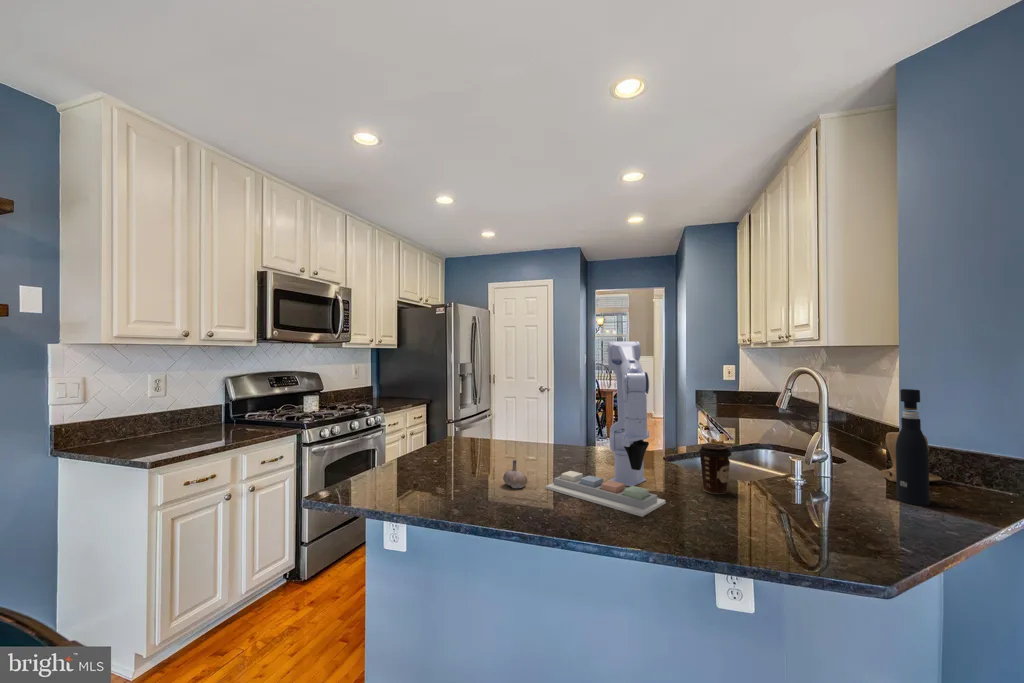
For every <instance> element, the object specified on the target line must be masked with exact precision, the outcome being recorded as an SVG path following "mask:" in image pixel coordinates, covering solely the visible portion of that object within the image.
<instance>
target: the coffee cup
mask: <svg viewBox="0 0 1024 683" xmlns="http://www.w3.org/2000/svg"><path fill="white" fill-rule="evenodd" d="M698 454H699V456H700V467H701V478H702V490H703V492H706V493H709V494H714V495H723V494H727V493H728V482H729V476H730V465H731V461H730V459H729V457H731V456H732V452H731V450H730V449H729V447H728V446H726V445H724V444H717V443H716V444H715V443H706V444H702V445H701V448H700V449H699V450H698Z"/></svg>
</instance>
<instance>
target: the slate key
mask: <svg viewBox="0 0 1024 683" xmlns="http://www.w3.org/2000/svg"><path fill="white" fill-rule="evenodd" d="M583 477H584V478H581V479H580V484H582V485H586V486H590V487H593V488H597V487H599V486H601V484H602V483H603V482H604V478H602V477H598V476H594V475H588V476H583Z"/></svg>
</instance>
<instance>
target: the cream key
mask: <svg viewBox="0 0 1024 683" xmlns="http://www.w3.org/2000/svg"><path fill="white" fill-rule="evenodd" d="M560 476H561V479H563V480H567V481H571V482H574V483H575V482H578V481H580V479H581V478H583V477H584V474H583V473H580V472H578V471H573V470H569V471H565V472H563V473H561V474H560Z"/></svg>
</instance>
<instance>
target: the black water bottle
mask: <svg viewBox="0 0 1024 683" xmlns="http://www.w3.org/2000/svg"><path fill="white" fill-rule="evenodd" d="M899 393H900V395H899V396H900V402H903V404H904V405H903V410H902V415H901V416H902V417H901V419H900V420H901V421H900V422H901V427H900V430H899V431H898V432H899V435H898V437H897V441H896V482H895V483H896V499H897V501H899V502H901V503H905V504H909V505H912V506H913V505H914V506H920V507H921V506H922V507H924V506H926V507H927V506H930V500H931V498H930V481H929V473H930V471H929V470H930V469H929V468H930V466H929V465H930V464H929V462H930V461H929V453H928V447H929V446H928V447H927V443H926V440H925V437H924V433H923V431H922V429H921V427H922V426H921V425H922V424H921V422H922V421H921V418H920V416H919V415H920V413H919V411H918V403H921V390H920V389H913V388H911V389H910V388H908V389H907V388H900V391H899Z"/></svg>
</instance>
